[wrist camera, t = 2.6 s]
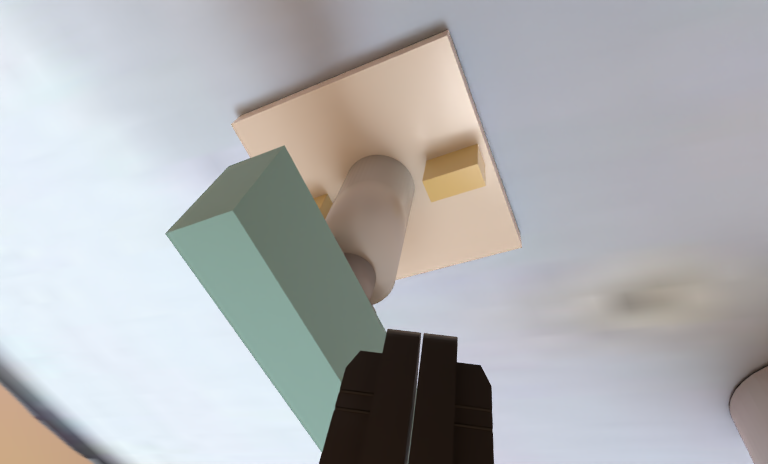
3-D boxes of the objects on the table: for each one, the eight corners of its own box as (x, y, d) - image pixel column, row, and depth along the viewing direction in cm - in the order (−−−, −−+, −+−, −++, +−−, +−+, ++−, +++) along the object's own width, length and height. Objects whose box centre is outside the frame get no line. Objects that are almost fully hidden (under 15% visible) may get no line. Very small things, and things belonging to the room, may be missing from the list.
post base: (520, 235, 35) (534, 346, 26) (336, 284, 40) (295, 393, 31) (448, 29, 29) (435, 85, 20) (240, 115, 33) (155, 192, 25)
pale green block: (430, 378, 28) (418, 504, 22) (386, 386, 29) (362, 509, 23) (299, 126, 21) (232, 210, 16) (247, 146, 22) (165, 233, 16)
